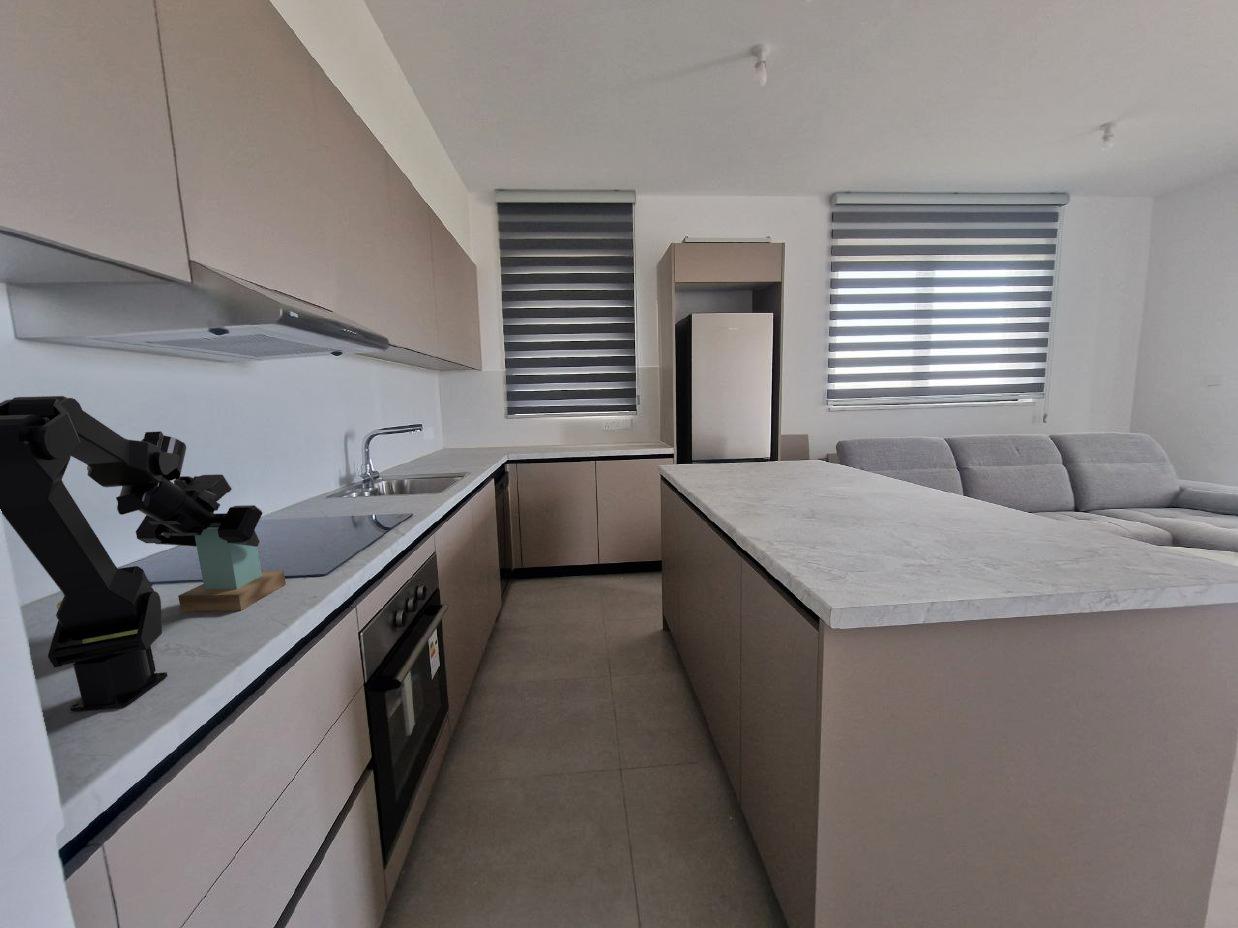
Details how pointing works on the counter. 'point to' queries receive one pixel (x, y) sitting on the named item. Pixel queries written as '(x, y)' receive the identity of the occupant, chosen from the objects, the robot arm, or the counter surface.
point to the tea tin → (226, 561)
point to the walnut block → (232, 594)
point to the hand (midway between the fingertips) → (234, 544)
